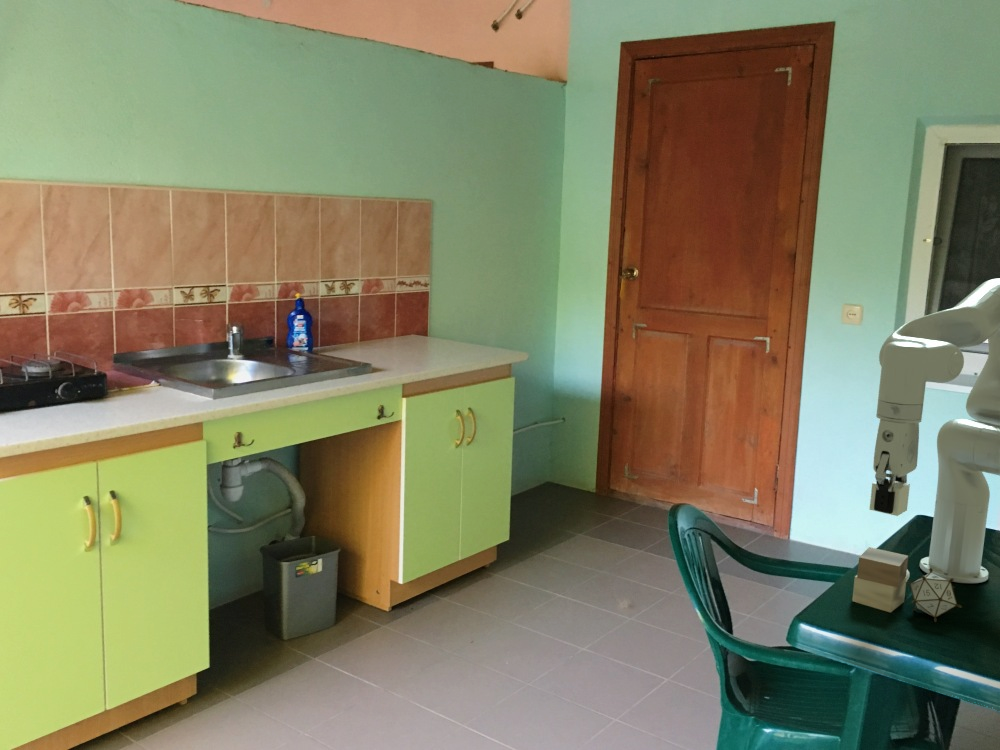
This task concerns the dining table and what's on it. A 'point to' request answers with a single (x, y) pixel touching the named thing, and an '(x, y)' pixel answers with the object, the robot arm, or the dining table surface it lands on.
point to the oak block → (878, 594)
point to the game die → (933, 594)
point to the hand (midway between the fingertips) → (888, 507)
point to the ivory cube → (899, 499)
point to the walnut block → (882, 567)
